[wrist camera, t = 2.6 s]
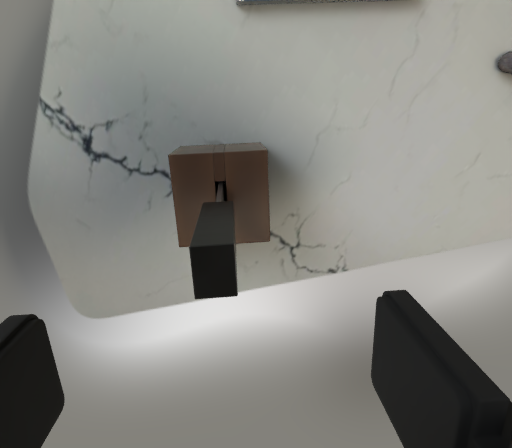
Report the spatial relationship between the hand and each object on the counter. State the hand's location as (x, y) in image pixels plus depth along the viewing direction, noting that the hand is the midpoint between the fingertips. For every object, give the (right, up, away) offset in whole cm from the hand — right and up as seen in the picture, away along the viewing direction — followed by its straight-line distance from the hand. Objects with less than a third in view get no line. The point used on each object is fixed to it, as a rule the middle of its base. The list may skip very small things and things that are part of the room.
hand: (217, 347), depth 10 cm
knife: (-2, +7, +21) cm, 23 cm away
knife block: (-2, +7, +21) cm, 23 cm away
